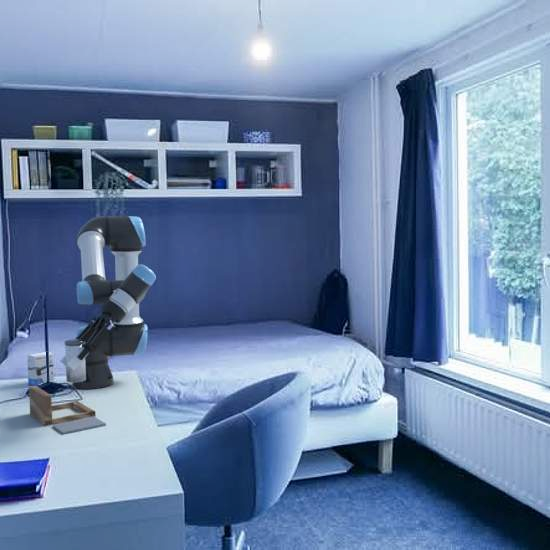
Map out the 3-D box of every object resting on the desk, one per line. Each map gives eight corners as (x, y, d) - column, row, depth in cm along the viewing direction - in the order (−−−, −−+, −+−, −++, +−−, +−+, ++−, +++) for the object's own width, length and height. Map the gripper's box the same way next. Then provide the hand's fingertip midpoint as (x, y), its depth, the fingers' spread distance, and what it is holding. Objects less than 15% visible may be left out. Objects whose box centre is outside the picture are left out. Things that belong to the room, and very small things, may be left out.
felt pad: (94, 418, 193) (94, 416, 193) (105, 425, 185) (105, 423, 185) (52, 426, 185) (52, 425, 185) (62, 434, 178) (62, 432, 178)
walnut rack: (77, 405, 208) (76, 379, 207) (95, 416, 195) (94, 388, 195) (30, 414, 198) (28, 386, 198) (45, 425, 186) (44, 396, 185)
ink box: (35, 386, 235) (33, 356, 234) (27, 385, 238) (26, 354, 237) (54, 382, 242) (53, 352, 241) (47, 380, 245) (46, 351, 244)
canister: (82, 377, 189) (81, 338, 188) (89, 380, 184) (88, 340, 183) (63, 380, 185) (61, 340, 184) (69, 383, 181) (68, 343, 180)
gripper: (97, 296, 197) (47, 353, 188) (121, 300, 183) (68, 362, 174) (113, 311, 201) (65, 368, 192) (138, 317, 186) (87, 378, 177)
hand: (67, 365), depth 183 cm, fingers closed on canister, 5 cm apart
